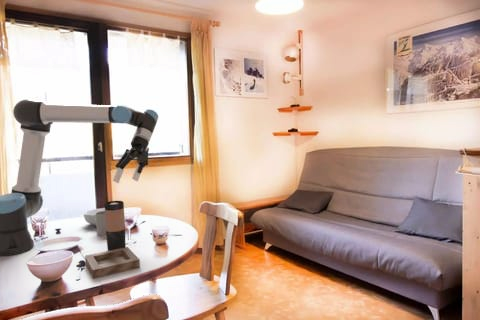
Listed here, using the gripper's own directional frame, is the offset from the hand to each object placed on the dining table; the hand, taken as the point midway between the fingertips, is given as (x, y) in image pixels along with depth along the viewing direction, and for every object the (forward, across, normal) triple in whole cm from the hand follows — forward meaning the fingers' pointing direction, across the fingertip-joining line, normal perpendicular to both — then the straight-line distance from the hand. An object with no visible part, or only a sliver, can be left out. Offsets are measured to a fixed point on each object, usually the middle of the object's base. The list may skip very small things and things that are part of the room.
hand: (124, 180), depth 151 cm
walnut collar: (+36, -12, -1) cm, 38 cm away
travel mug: (+28, +2, -9) cm, 29 cm away
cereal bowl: (+12, +41, -22) cm, 48 cm away
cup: (+18, +26, -17) cm, 36 cm away
